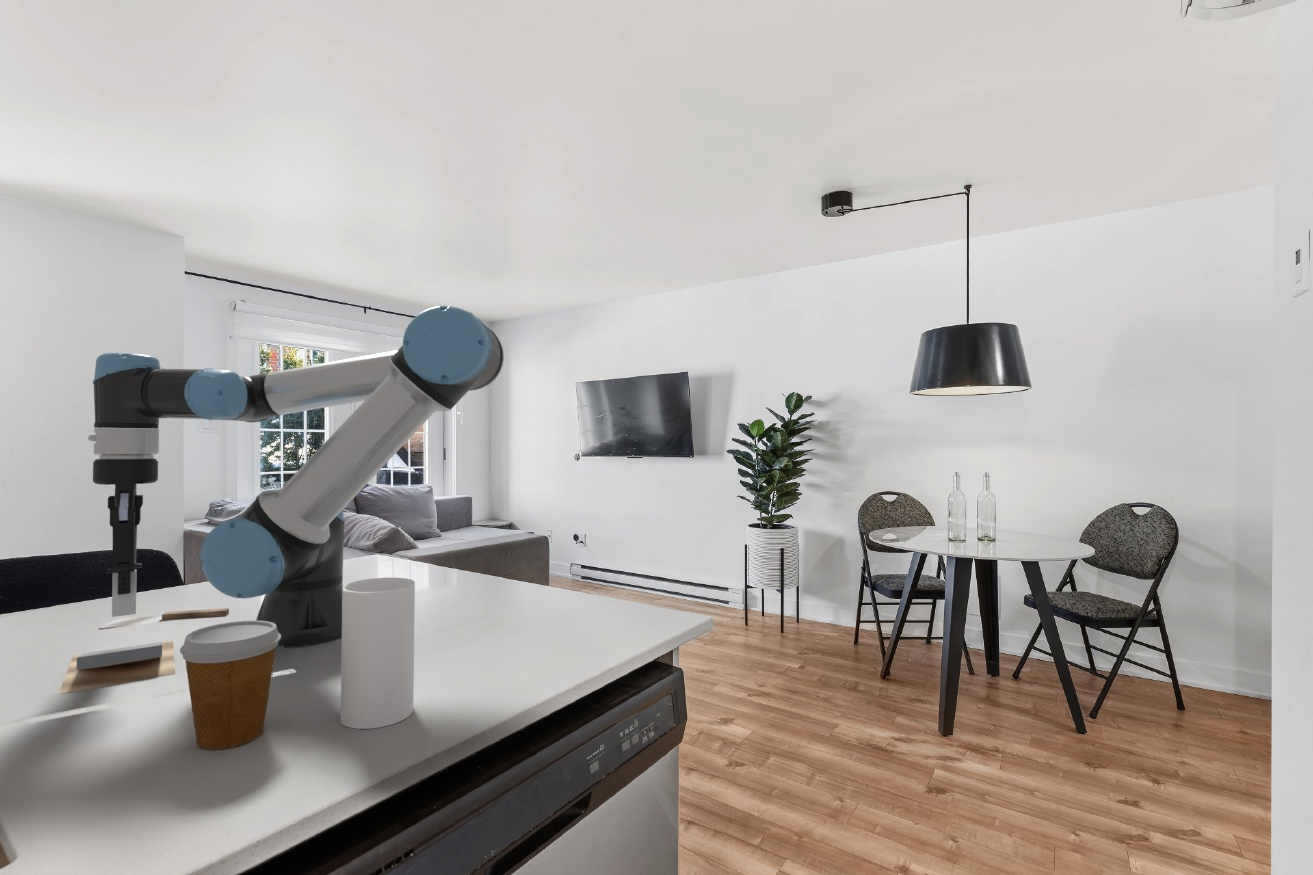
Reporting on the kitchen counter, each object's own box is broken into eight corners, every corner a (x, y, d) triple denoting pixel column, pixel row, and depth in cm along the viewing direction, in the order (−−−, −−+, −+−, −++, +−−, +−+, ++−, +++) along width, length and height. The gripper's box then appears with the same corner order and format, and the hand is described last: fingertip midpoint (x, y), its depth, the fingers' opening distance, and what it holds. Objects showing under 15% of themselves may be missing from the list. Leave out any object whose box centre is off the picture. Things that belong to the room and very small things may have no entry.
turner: (232, 613, 122) (232, 605, 122) (221, 622, 117) (221, 613, 117) (115, 621, 117) (115, 612, 117) (98, 630, 111) (98, 621, 111)
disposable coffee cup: (212, 719, 76) (213, 619, 76) (294, 717, 77) (296, 618, 77) (156, 759, 67) (158, 645, 67) (251, 756, 68) (253, 643, 68)
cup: (367, 735, 73) (369, 595, 73) (326, 718, 77) (328, 586, 77) (427, 710, 80) (429, 582, 80) (386, 695, 84) (388, 574, 84)
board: (73, 659, 96) (73, 655, 96) (172, 644, 103) (172, 640, 103) (58, 698, 82) (58, 693, 82) (175, 677, 89) (175, 673, 89)
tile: (83, 653, 93) (76, 657, 85) (161, 641, 98) (162, 644, 91) (82, 665, 92) (76, 671, 85) (161, 653, 98) (161, 657, 90)
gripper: (97, 456, 98) (95, 608, 98) (88, 458, 88) (85, 629, 88) (159, 456, 103) (156, 601, 103) (157, 458, 93) (154, 620, 92)
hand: (124, 614), depth 95 cm, fingers closed
